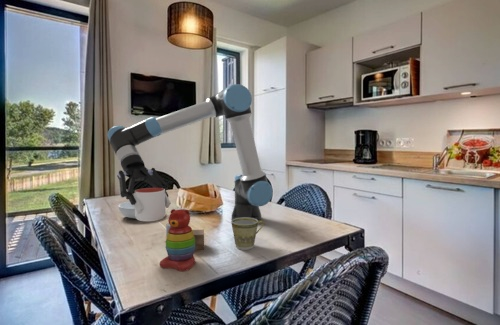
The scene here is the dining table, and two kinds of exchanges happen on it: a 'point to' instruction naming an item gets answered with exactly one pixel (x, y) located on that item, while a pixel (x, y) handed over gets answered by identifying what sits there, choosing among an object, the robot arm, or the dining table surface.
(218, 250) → the dining table surface
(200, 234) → the walnut block
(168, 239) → the stacking bear
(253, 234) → the ceramic cup
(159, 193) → the cup
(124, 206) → the serving bowl
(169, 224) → the grey rounded cylinder
